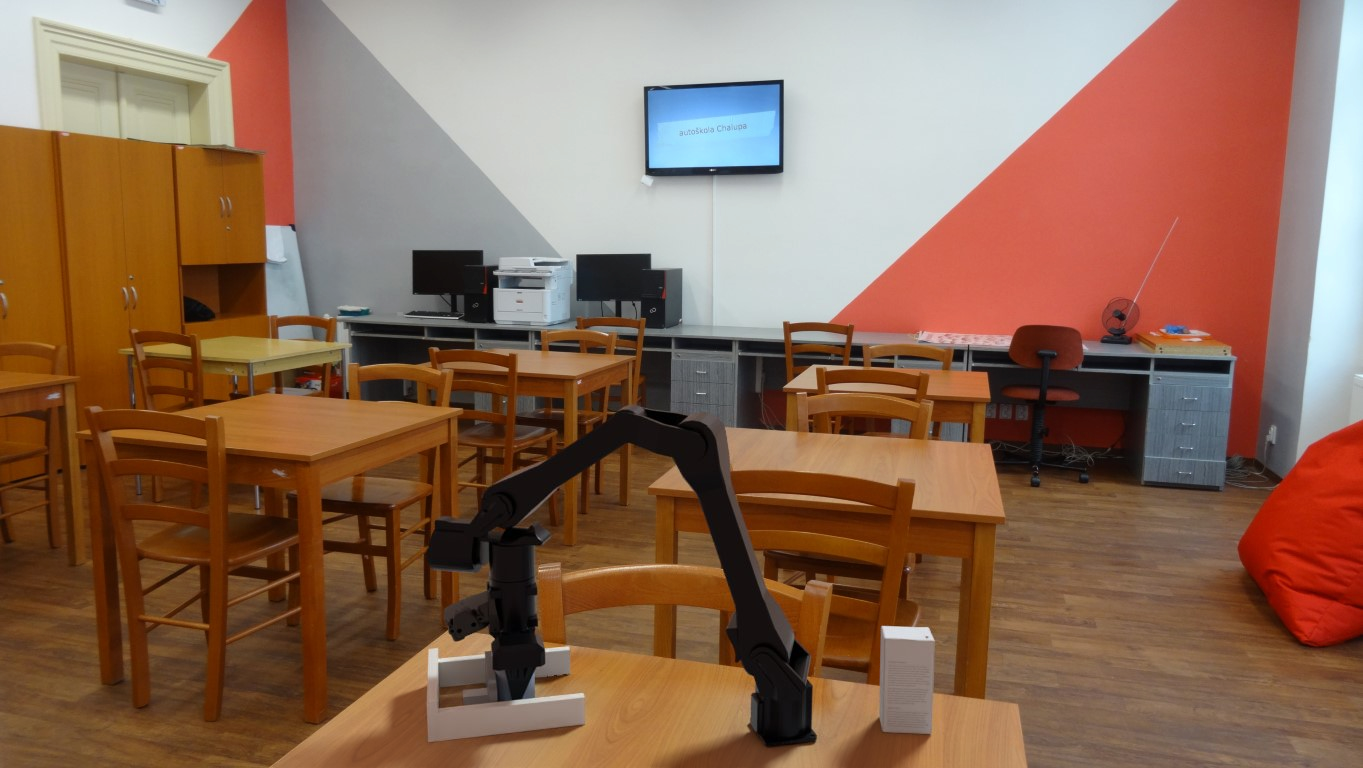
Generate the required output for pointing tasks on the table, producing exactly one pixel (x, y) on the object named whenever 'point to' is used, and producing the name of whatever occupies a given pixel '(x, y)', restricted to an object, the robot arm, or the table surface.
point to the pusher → (483, 693)
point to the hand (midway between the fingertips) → (515, 691)
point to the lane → (497, 714)
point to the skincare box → (906, 679)
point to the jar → (503, 687)
